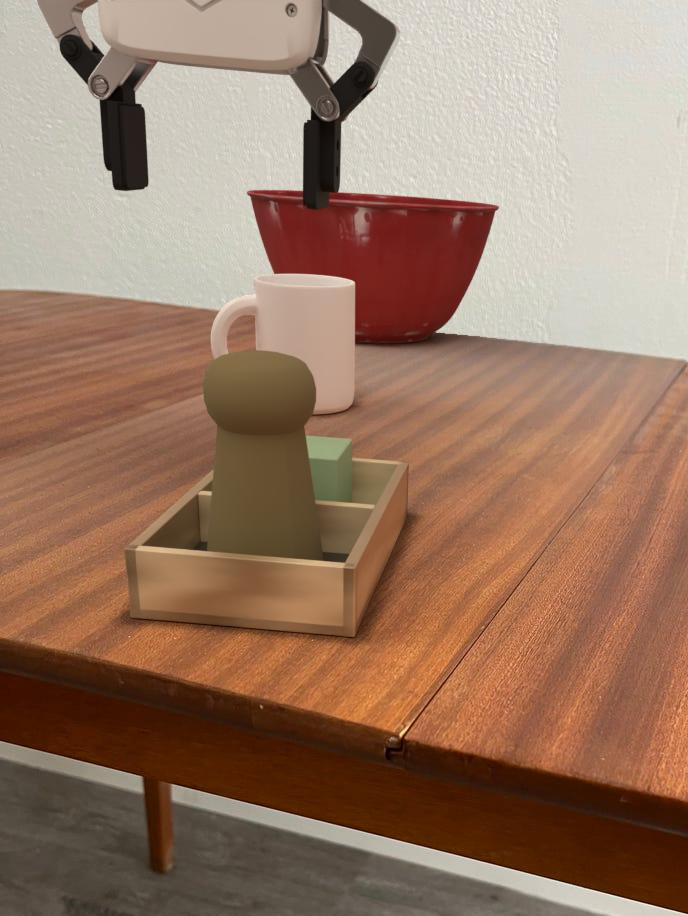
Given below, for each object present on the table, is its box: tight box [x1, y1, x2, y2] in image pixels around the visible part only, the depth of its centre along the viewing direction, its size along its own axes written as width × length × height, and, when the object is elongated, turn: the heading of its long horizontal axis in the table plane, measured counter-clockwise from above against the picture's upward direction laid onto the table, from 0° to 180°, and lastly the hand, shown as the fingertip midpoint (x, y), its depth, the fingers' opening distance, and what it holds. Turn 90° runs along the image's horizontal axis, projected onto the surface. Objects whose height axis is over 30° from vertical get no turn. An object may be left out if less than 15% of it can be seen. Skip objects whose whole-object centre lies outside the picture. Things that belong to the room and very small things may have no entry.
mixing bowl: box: [246, 189, 500, 344], centre depth 120 cm, size 28×28×15 cm
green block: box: [306, 435, 353, 503], centre depth 59 cm, size 4×4×4 cm
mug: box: [210, 273, 356, 416], centre depth 86 cm, size 12×8×10 cm
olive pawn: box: [202, 349, 324, 561], centre depth 50 cm, size 6×6×11 cm
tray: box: [123, 457, 410, 638], centre depth 55 cm, size 11×18×4 cm, turn 176°
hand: (223, 198), depth 53 cm, fingers open, 9 cm apart
